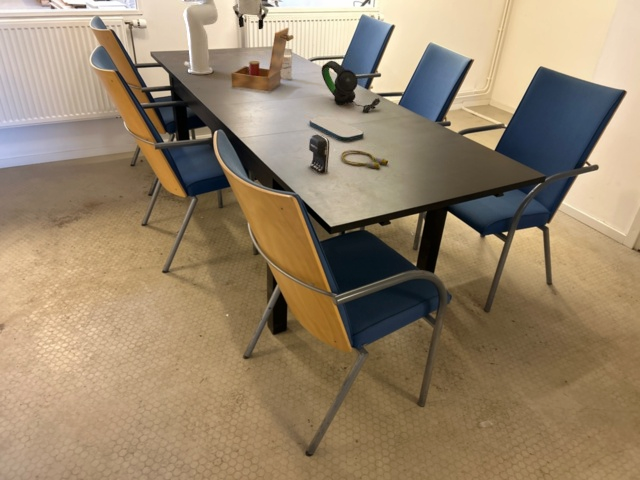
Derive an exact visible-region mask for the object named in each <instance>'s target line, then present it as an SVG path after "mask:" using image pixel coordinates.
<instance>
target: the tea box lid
mask: <svg viewBox="0 0 640 480" xmlns="http://www.w3.org/2000/svg"><path fill="white" fill-rule="evenodd" d="M289 29H290V28H289V27H286V28H283V29H280V30H279V31H276V32H275V33H274V36H273V43H272V49H271V54H270V55H271V56H270V61H269V68H268V69H269V74H268V77H271V76H273V75H274V74H276V73H277V72H279V71H281V70H282V64H283V58H284V53H285V52H286V51H285V48H286V46H287V42H290V41H291V40H294V35H293V34H290V35H289Z"/></svg>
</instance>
